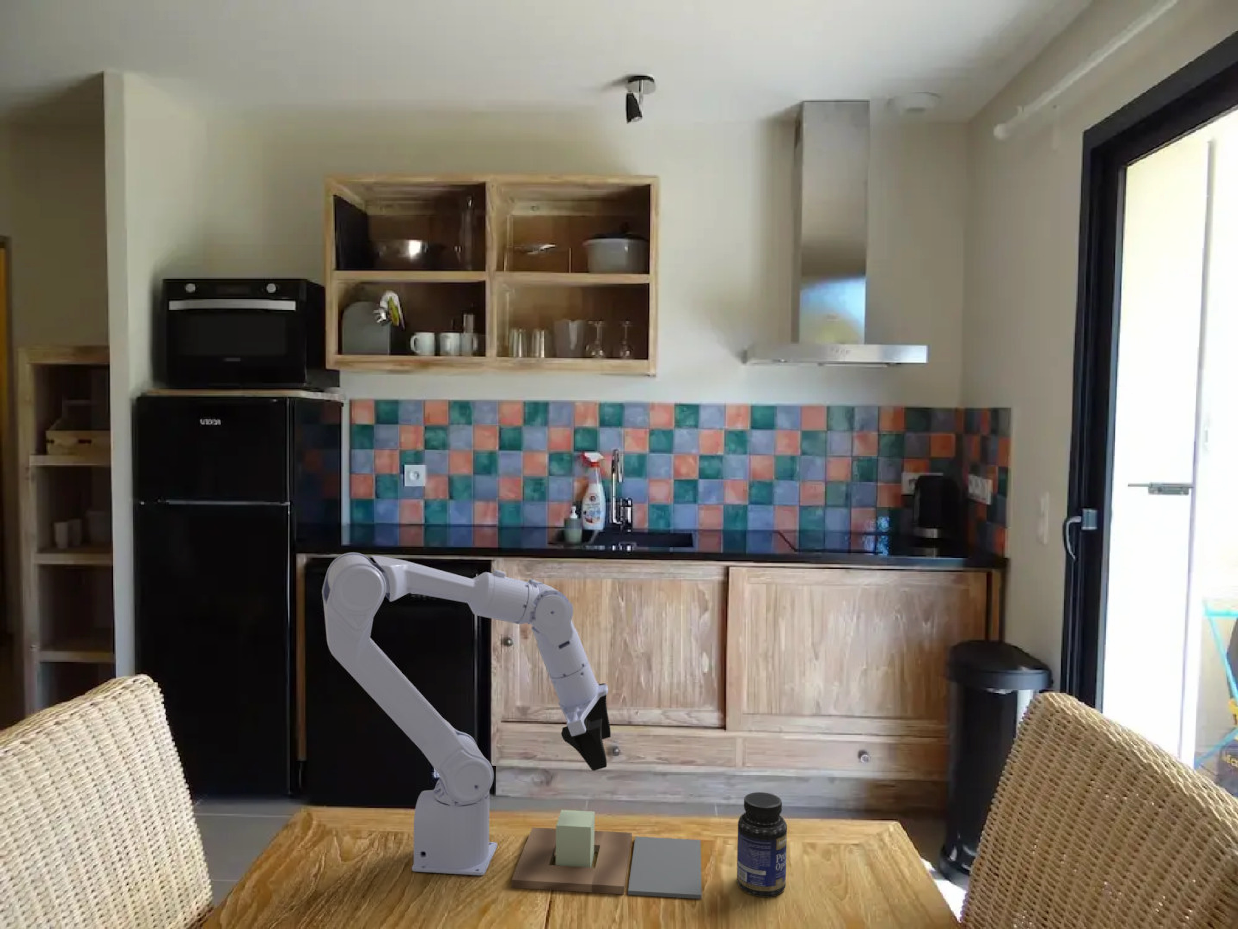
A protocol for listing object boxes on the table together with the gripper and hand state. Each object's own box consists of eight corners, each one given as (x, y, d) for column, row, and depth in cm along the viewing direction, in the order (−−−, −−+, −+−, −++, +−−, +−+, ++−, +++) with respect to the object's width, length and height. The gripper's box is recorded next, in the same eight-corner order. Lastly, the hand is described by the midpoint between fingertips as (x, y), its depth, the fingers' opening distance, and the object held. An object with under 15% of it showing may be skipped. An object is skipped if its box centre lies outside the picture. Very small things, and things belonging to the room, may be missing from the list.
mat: (628, 894, 106) (628, 890, 106) (635, 840, 120) (635, 836, 120) (701, 899, 106) (701, 895, 106) (700, 843, 119) (700, 840, 119)
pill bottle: (785, 901, 105) (787, 813, 105) (734, 895, 106) (736, 807, 106) (785, 876, 111) (787, 791, 111) (738, 870, 113) (739, 787, 112)
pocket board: (511, 887, 107) (511, 879, 107) (532, 834, 121) (532, 827, 121) (623, 894, 106) (624, 886, 106) (631, 840, 120) (631, 832, 120)
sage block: (555, 870, 112) (556, 825, 112) (560, 853, 116) (561, 809, 116) (590, 873, 111) (590, 827, 111) (594, 855, 116) (594, 811, 116)
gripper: (590, 683, 111) (626, 774, 114) (600, 636, 125) (631, 718, 128) (539, 699, 112) (576, 788, 115) (554, 650, 126) (586, 731, 129)
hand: (602, 752), depth 121 cm, fingers open, 7 cm apart
